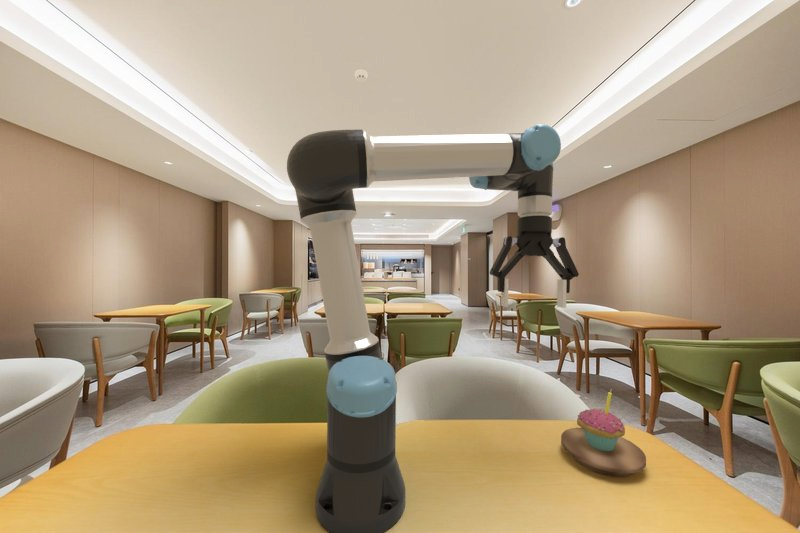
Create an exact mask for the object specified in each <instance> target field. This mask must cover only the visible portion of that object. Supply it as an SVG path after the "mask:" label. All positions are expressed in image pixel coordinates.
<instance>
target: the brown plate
mask: <svg viewBox="0 0 800 533" xmlns="http://www.w3.org/2000/svg"><path fill="white" fill-rule="evenodd" d="M560 439H561V441H560V443H561V446H562V447H563V449H564V450H565V451H566V452H567V453H568V454H569V455H570V456H572V458H573V459H574V461H575V462H577V463H578V464H579V465H581V466H582V467H584V468H586V469H587V470H590V471H591V472H594V473H597V474H600V475H604V476H607V477H614V478H623V477H628V476H631V475H632V474H634V473H640V472H641V471H644V469H645V468H646V467H647V456H646V454H645V452H644V451H643V449H641V448H640V447H639V446H638V445H637V444H635V443H633V442H632V441H631V440H629V439H626V438H625V437H623V436H622V437H619V438H618V440H617V442H616V445H615V447H614V449H613V450H612V451H602V450H598V449H596V448H593V447H592V446H590V445H589V444H588V442H587V439H586V436H585V433H584V431H583V429H582V428H581V427H571V428H568V429H565V430H564V431H563V432H562V433H561V437H560Z"/></svg>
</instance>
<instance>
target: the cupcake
mask: <svg viewBox="0 0 800 533" xmlns="http://www.w3.org/2000/svg"><path fill="white" fill-rule="evenodd" d="M612 390H613V388H611V389H609V392H607V397H606V402H605V409H601V408H593V409H592V408H591V409H585V410H582V411H580V412H579V414H578V415H577V420H576V424H577V426H578V427H579V428H582V429H583V431H584V433H585V436H586V439H587V442H588V444H589V445H590V446H592V447H593V448H596V449H598V450H602V451H612V450H613V449H614V447H615V445H616V442H617V440H618V438H619V437H622V438H623V437H624V436H625V433H626V428H625V424H624V422H622V419H621V418H619V417H618V416H617V415H615V414H613V413H612V412H610V406H611V405H610V404H611V400H612V394H613V393H612Z"/></svg>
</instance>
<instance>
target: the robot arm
mask: <svg viewBox="0 0 800 533" xmlns="http://www.w3.org/2000/svg"><path fill="white" fill-rule="evenodd" d="M561 144H562V143H561V137H560V135H559V134H558V132H557V130H555V129H554V127H553V126H550V125H549V124H544V123H538V124H534V125H533V126H532V127H528V128H526V130H524V131H523V132H521V133H520V132H518V133H517V132H516V133H515V132H514V133H513V132H512V133H469V134H464V133H463V134H462V133H461V134H460V133H459V134H456V133H455V134H412V135H408V134H407V135H405V134H404V135H400V134H399V135H396V134H395V135H371V134H369V133H368V132H367V131H366V130H365V129H337V130H336V129H334V130H326V131H325V130H324V131H317V132H314V133H311V134H308V135H306V136H304V137H302V138H301V139H298V141H296V142H295V144H294V145H293V146H292V147H291V149H290V151H289V153H288V156H287V160H286V173H287V175H288V178H289V182H290V183H291V185H292V187H293V188H294V192H295V196H296V200H297V207H298V213H299V216H300V217H299V218H300V222H302V223H303V224H304V225H306V226H307V227H308V228H309V230H310V236H311V242H312V246H313V247H312V248H313V251H314V256H315V257H314V258H315V263H316V269H317V275H318V280H319V285H320V291H321V297H322V302H323V308H324V314H325V319H326V325H327V326H326V327H327V331H328V336H329V342H328V343H327V345H326V346H325V348H324V349H323V351H324V355H325V356H324V357H325V363H326V369H327V373H328V376H327V381H326V385H325V386H326V392H325V394H326V395H327V397H326V398H327V399H326V401H327V402H326V403H327V404H326V406H327V408H326V411H327V415H326V419H327V420H326V421H327V422H326V423H327V424H326V425H327V426H326V428H327V430H326V435H327V436H326V440H327V441H326V462H325V464H324V467H323V470H322V475H321V477H320V480H319V483H318V487H317V489H316V495H315V513H316V517H317V520H318V522H319V523H320V525H321V526H322V527H323V528H324V529H325V530H326V531H328V532H330V533H383V532H384V533H385V532H386V531H387V530H388V529H391V528H392V527H393V526H394V525H395V524H396V523H397V522H398V521H399V520H400V518H401V517H402V515H403V513H404V511H405V506H406V486H405V481H404V477H403V475H402V471H401V469H400V466H399V462H398V459H397V455H396V438H397V437H396V427H397V425H396V424H397V421H396V420H397V419H396V418H397V416H396V415H397V414H396V413H397V412H396V411H397V399H396V398H397V392H398V383H397V379H396V378H397V376H396V371H395V369H394V367H393V366H392V365H391V364H390V363H389V362H388V361H386V360H385V359H383V357H382V351H381V345H380V340H379V337H378V336H377V335H375V334H374V333H372V332H371V330H370V324H369V318H368V317H369V316H368V311H367V306H366V302H365V295H364V288H363V285H362V278H361V271H360V267H359V266H360V265H359V260H358V256H357V255H358V254H357V250H356V244H355V238H354V231H353V228H352V222H353V220H354V218H355V217H356V216H357V208H356V203H355V197H354V196H355V195H354V189H365V188H369V187H370V185H371V184H372V183H373V182H388V181H389V182H391V181H409V180H411V181H413V180H429V179H448V178H449V179H453V178H468V180H469V182H470V185H471V186H472V187H473V188H475V189H479V190H484V191H487V190H491V191H508V192H517V216H518V217H519V218H518V219H517V227H516V228H517V231H516V233H517V236H516V237H512V236H510V235H509V236H506V237H504V238H503V243H502V247H501V249H500V251H499V253H498V255H497V257H496V259H495V261H494V263H493V265H492V266H491V269H490V270H489V275H491V276H493V277H495V278H496V279H497V285H496V286H497V287H496V288H497V292H498V293H499V292H500V306H502V307H505V308H507V307H509V278H506V277H507V276H508V275H509V273H510V272H511V271H512V270H513V269H514V267H515V266H517V264H518V263H519V262H520V261H521V259H522V258H524V257H525V256H526V257H543V258H544V259H545V260H546V262H547V263H548V264H549V265H550V266H551V268H552V269H553V270H554V272H556V273H557V275H558V277H559V278H560V279H558V278H557V281H556V282H557V284H556V286H557V287H556V291H557V292H556V295H557V296H556V306H557V307H559V308H563V309H564V308H565V309H566V308H567V294H570V289H571V287H570V286H571V280H572V279H574V278H575V277H576V278H578V277H579V275H580V273H579V271H578V269H577V267H576V265H575V263H574V261H573V259H572V256H571V254H570V252H569V250H568V249H567V244H566V238H565V237H557V238H553V237H552V232H553V218H552V217H551V215H552V214H553V181H554V179H553V178H554V177H553V176H554V162H555V161H556V160H557V159H558V157H559V156H560V153H561V150H562V145H561ZM515 244H516V246H517V247H518V249H517V250H516V251H515V252H514V254H513V255H512V256H511V258H509V260H508V261H507V262H506V264H505V265H504V262H505V261H506V259H507V257H508V254H509V252H510V250H511V249H512V247H514V245H515ZM552 246H553V247H554V248H555V249H556V252H557V255H558V257H559V259H560V261H561V262H560V261H559V259H558V258H557V257H556V256H555V253H554V252H553V250H552V249H551V247H552ZM503 265H504V266H503ZM502 266H503V267H502Z"/></svg>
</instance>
